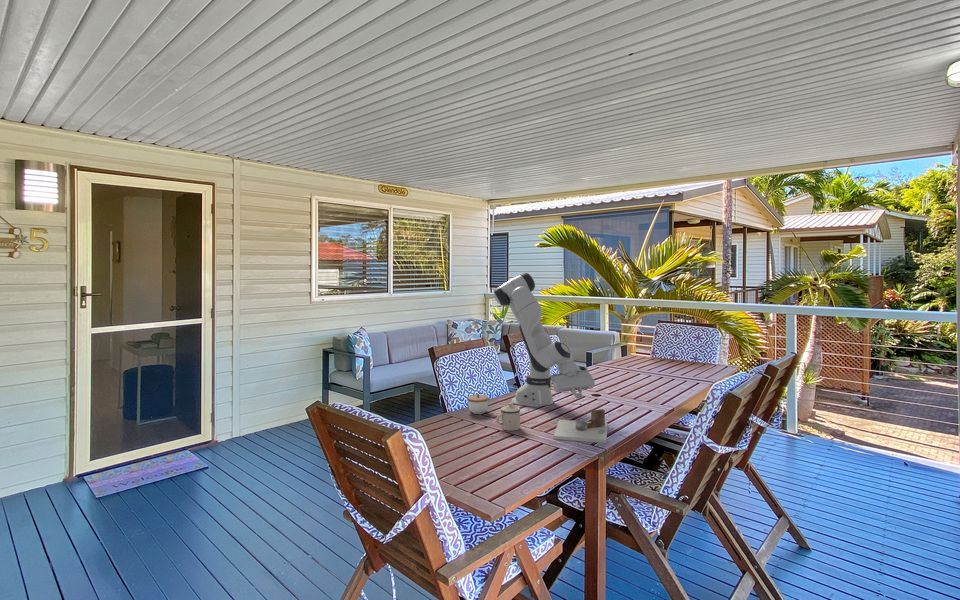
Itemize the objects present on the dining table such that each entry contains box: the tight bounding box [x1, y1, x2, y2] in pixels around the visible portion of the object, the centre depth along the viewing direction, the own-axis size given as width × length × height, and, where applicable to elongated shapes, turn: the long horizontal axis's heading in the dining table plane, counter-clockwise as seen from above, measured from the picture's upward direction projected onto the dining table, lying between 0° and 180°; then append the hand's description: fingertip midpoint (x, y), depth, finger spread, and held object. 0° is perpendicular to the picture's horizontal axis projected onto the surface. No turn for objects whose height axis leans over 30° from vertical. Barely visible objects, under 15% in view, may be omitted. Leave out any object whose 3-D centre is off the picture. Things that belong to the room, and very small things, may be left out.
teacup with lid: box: [496, 402, 521, 432], centre depth 231 cm, size 12×9×12 cm
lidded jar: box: [467, 393, 490, 415], centre depth 257 cm, size 11×11×9 cm
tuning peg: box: [575, 408, 606, 430], centre depth 226 cm, size 14×5×7 cm, turn 109°
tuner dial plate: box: [553, 419, 608, 444], centre depth 225 cm, size 22×22×2 cm
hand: (579, 397), depth 236 cm, fingers closed
